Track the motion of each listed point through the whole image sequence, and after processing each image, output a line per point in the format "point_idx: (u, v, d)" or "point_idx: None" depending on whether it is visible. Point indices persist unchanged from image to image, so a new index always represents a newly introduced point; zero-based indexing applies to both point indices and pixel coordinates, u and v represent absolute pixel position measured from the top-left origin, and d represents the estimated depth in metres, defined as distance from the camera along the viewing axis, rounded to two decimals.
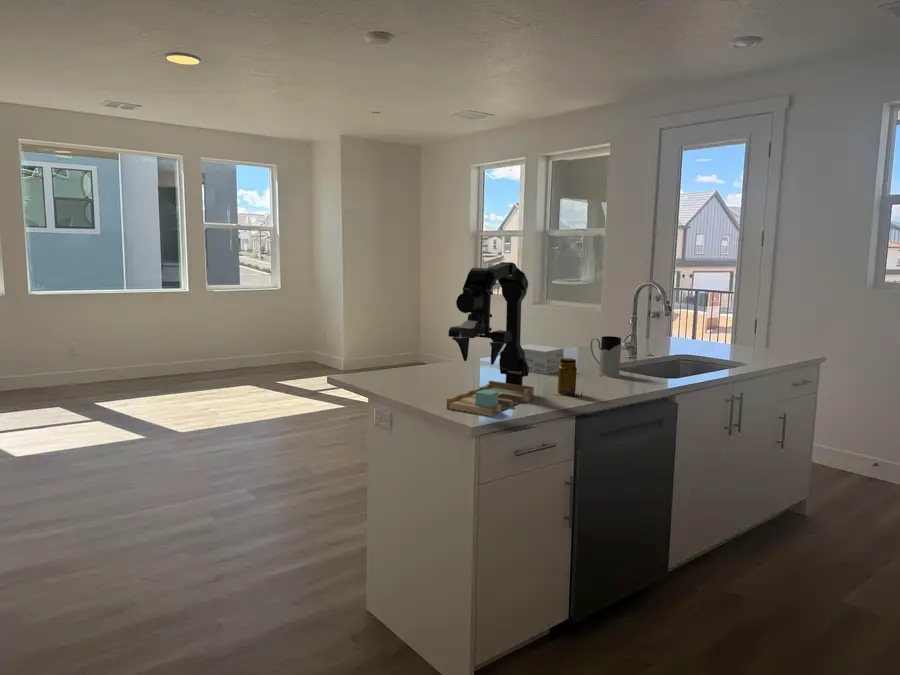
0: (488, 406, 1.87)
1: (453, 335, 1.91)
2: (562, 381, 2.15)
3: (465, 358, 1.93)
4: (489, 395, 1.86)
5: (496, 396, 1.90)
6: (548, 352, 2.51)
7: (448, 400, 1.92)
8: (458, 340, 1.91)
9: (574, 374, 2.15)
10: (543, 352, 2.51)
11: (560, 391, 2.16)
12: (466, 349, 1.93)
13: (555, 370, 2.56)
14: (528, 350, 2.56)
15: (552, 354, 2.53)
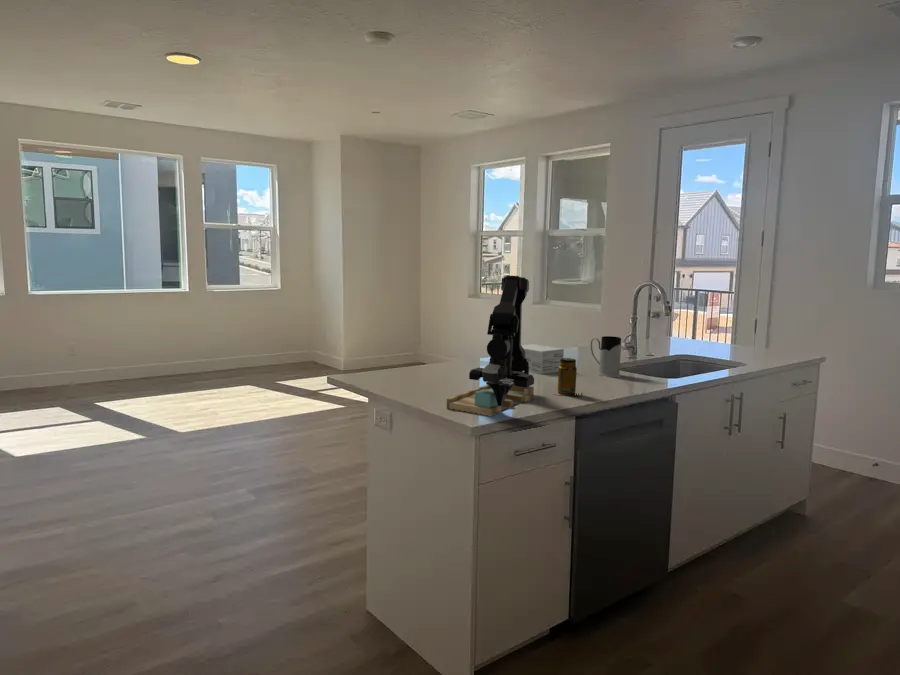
0: (487, 406, 1.87)
1: (474, 378, 1.88)
2: (562, 381, 2.15)
3: None
4: (488, 395, 1.87)
5: None
6: (544, 352, 2.51)
7: (448, 400, 1.92)
8: (492, 385, 1.85)
9: (574, 374, 2.15)
10: (539, 352, 2.51)
11: (560, 391, 2.16)
12: None
13: (553, 370, 2.55)
14: (526, 350, 2.57)
15: (550, 354, 2.53)
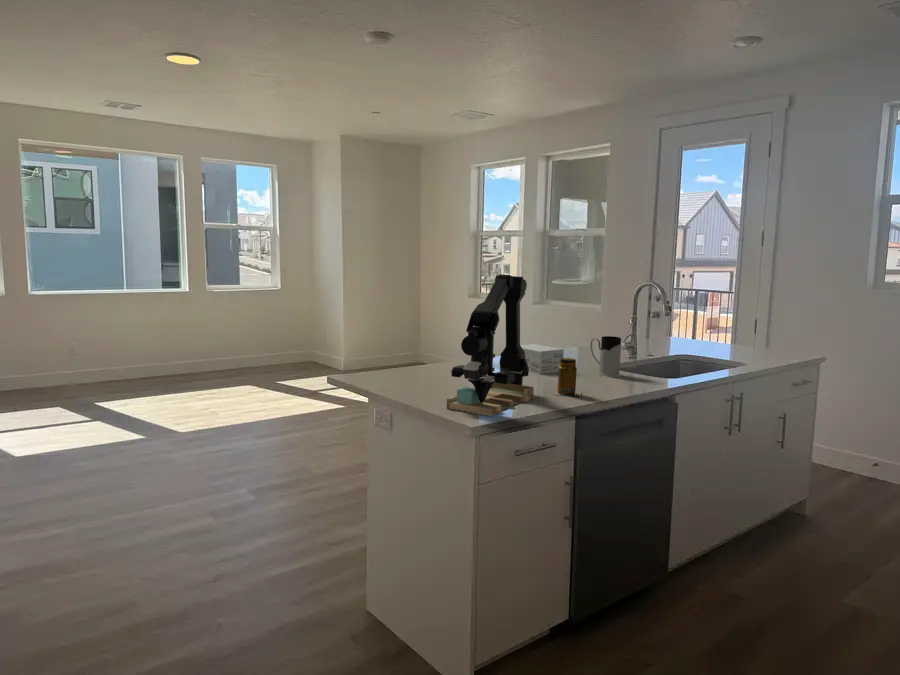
0: (469, 403, 1.90)
1: (456, 375, 1.91)
2: (562, 381, 2.15)
3: None
4: (470, 392, 1.90)
5: None
6: (543, 352, 2.51)
7: (448, 400, 1.92)
8: (474, 382, 1.89)
9: (574, 374, 2.15)
10: (538, 352, 2.51)
11: (560, 391, 2.16)
12: None
13: (552, 370, 2.55)
14: (526, 349, 2.57)
15: (549, 354, 2.53)
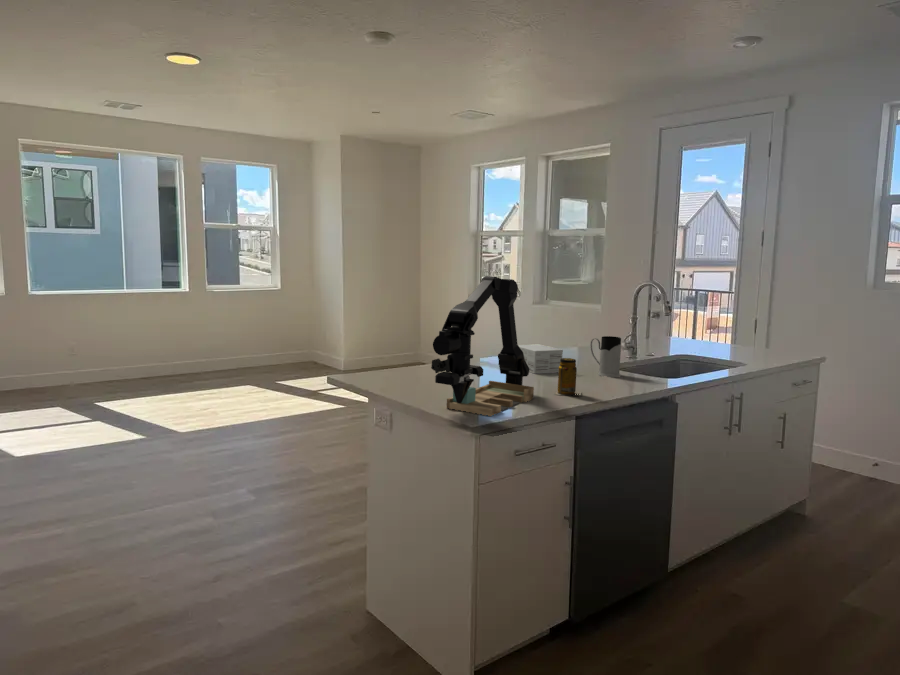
0: (465, 402, 1.91)
1: None
2: (562, 381, 2.15)
3: None
4: None
5: (473, 392, 1.94)
6: (538, 352, 2.51)
7: (448, 400, 1.92)
8: None
9: (574, 374, 2.15)
10: (533, 351, 2.52)
11: (560, 391, 2.16)
12: None
13: (549, 371, 2.54)
14: (524, 349, 2.58)
15: (544, 354, 2.52)
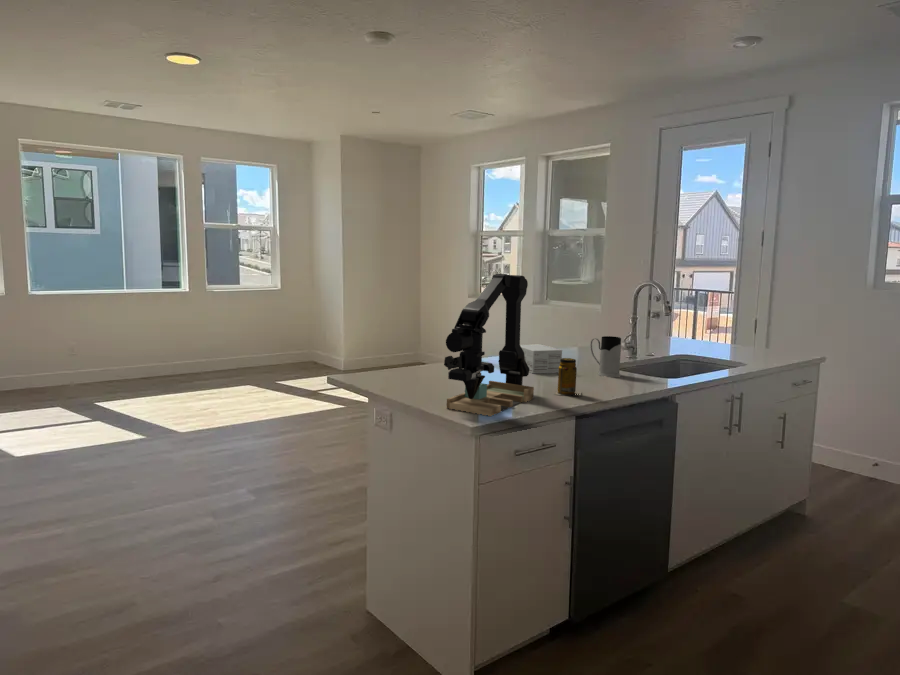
0: (477, 397, 1.97)
1: None
2: (562, 381, 2.15)
3: None
4: None
5: (485, 388, 2.00)
6: (536, 352, 2.51)
7: (448, 400, 1.92)
8: None
9: (574, 374, 2.15)
10: (531, 351, 2.52)
11: (560, 391, 2.16)
12: None
13: (548, 371, 2.54)
14: (523, 349, 2.59)
15: (543, 354, 2.52)
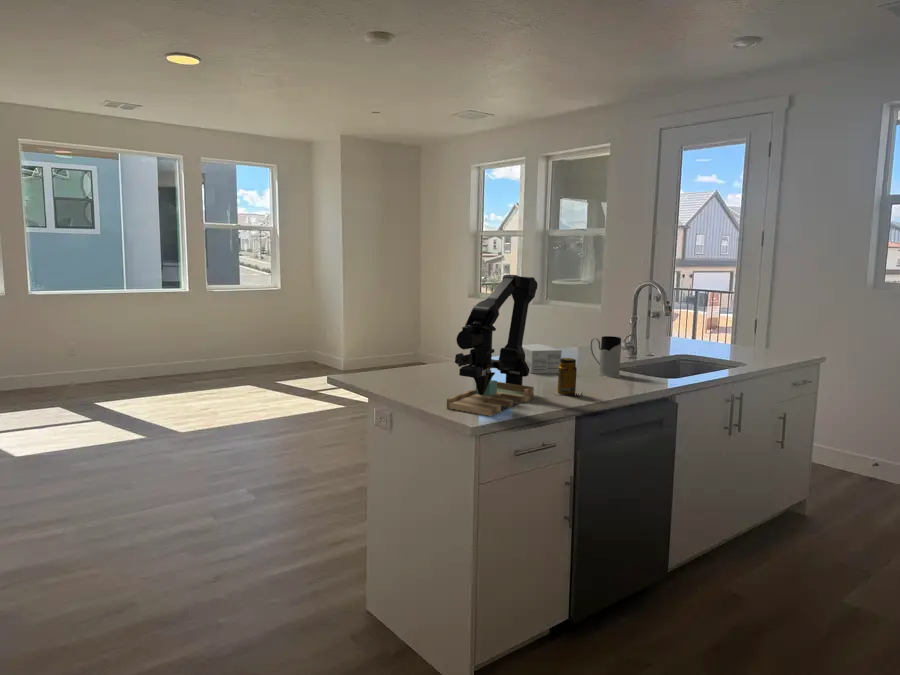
0: (487, 394, 2.03)
1: None
2: (562, 381, 2.15)
3: None
4: (488, 384, 2.02)
5: (495, 385, 2.05)
6: (535, 352, 2.51)
7: (448, 400, 1.92)
8: None
9: (574, 374, 2.15)
10: (530, 351, 2.52)
11: (560, 391, 2.16)
12: None
13: (547, 371, 2.54)
14: (523, 349, 2.59)
15: (542, 354, 2.52)
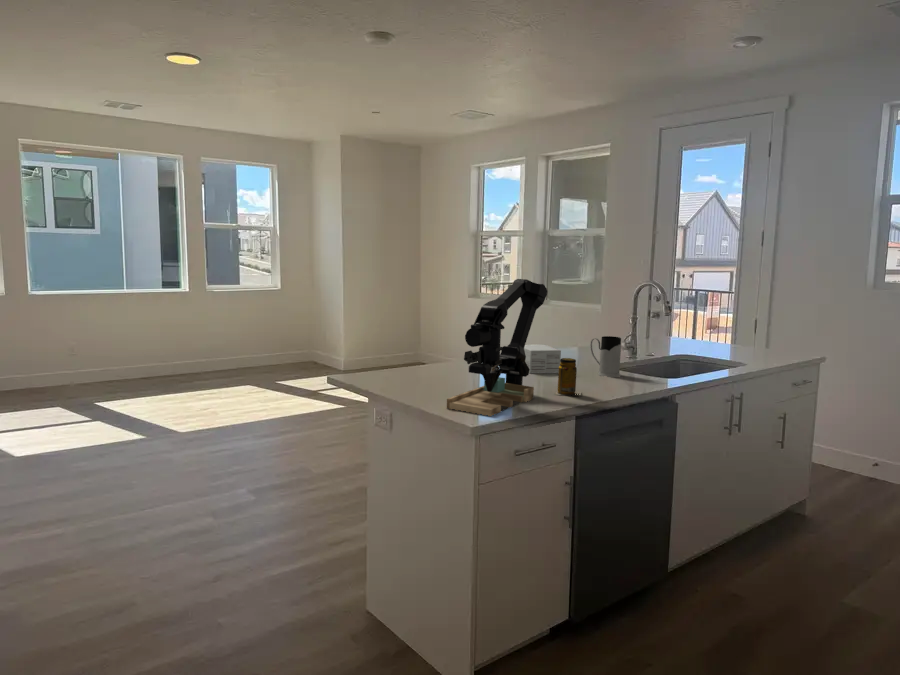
0: (496, 391, 2.08)
1: None
2: (562, 381, 2.15)
3: None
4: None
5: (503, 382, 2.10)
6: (533, 351, 2.51)
7: (448, 400, 1.92)
8: None
9: (574, 374, 2.15)
10: (529, 351, 2.53)
11: (560, 391, 2.16)
12: None
13: (546, 371, 2.54)
14: None
15: (541, 354, 2.52)
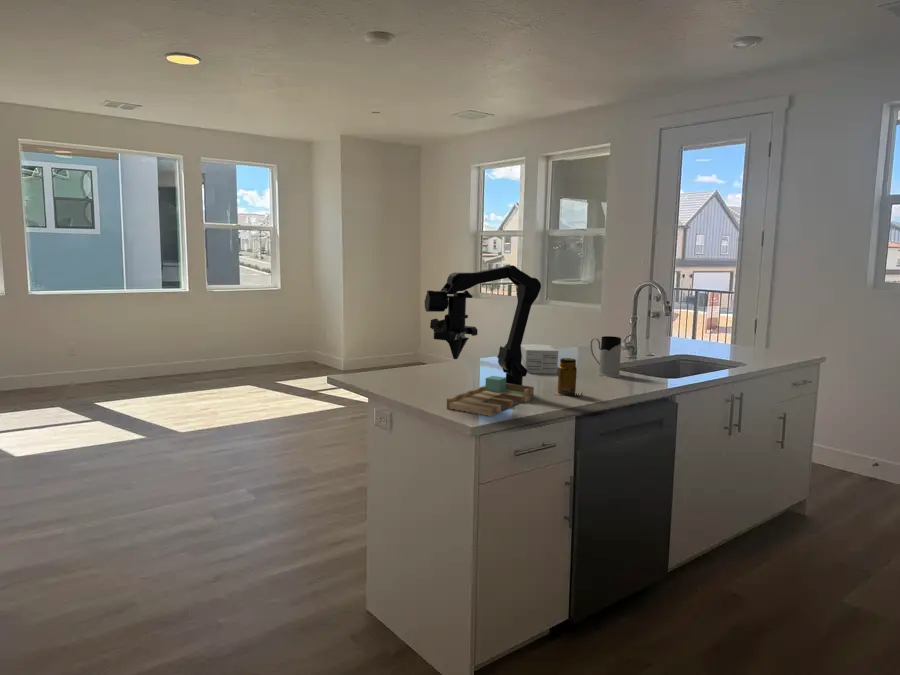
0: (497, 390, 2.08)
1: None
2: (562, 381, 2.15)
3: None
4: (498, 380, 2.08)
5: (504, 381, 2.11)
6: (529, 351, 2.52)
7: (448, 400, 1.92)
8: None
9: (574, 374, 2.15)
10: (525, 350, 2.54)
11: (560, 391, 2.16)
12: None
13: (542, 371, 2.53)
14: (522, 348, 2.61)
15: (537, 354, 2.52)
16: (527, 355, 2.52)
